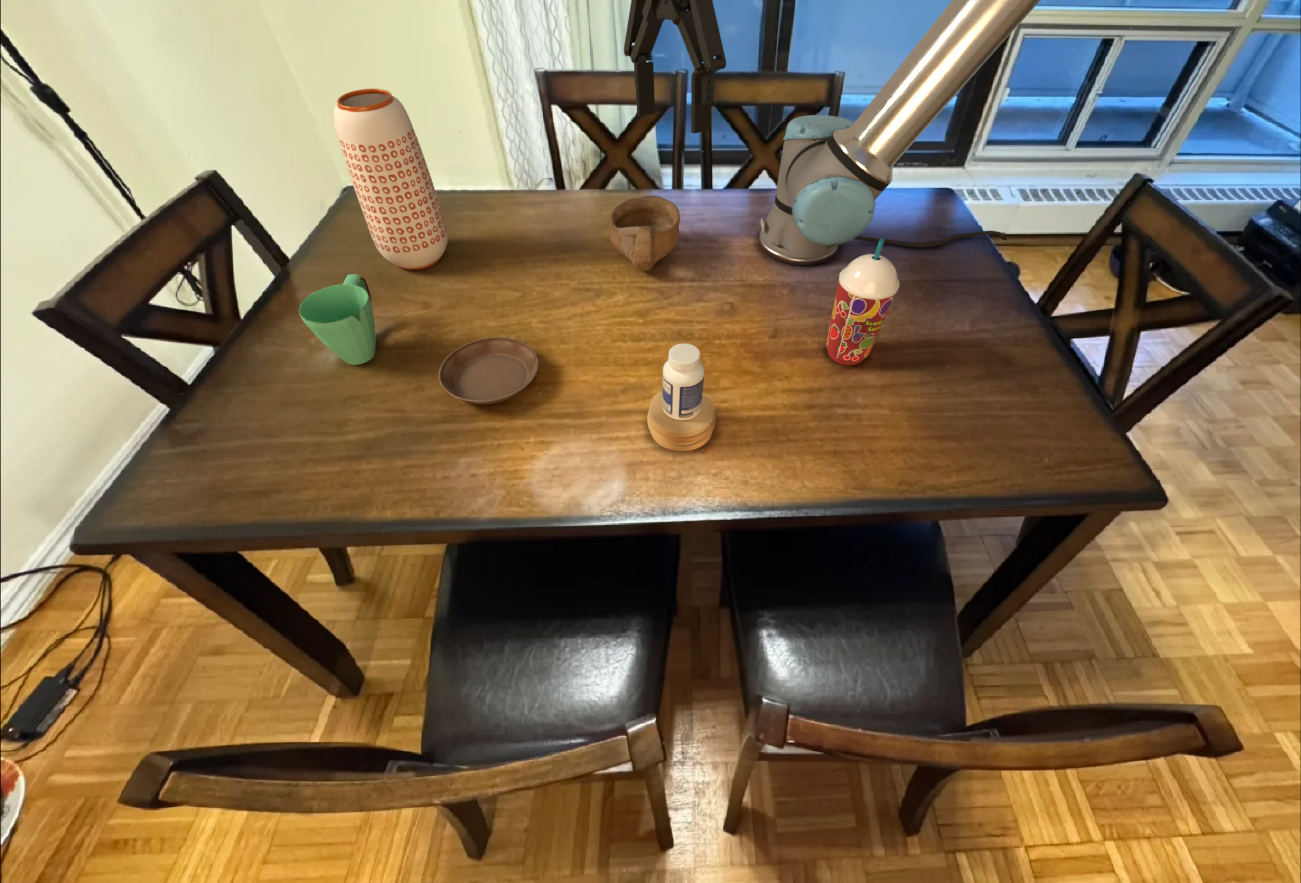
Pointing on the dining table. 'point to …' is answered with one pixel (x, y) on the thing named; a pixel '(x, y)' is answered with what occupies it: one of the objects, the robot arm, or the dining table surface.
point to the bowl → (644, 230)
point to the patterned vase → (391, 178)
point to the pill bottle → (683, 382)
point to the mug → (343, 319)
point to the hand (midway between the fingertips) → (672, 122)
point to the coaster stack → (681, 426)
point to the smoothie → (861, 306)
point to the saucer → (488, 370)
